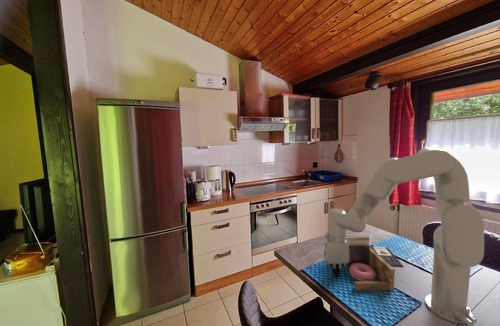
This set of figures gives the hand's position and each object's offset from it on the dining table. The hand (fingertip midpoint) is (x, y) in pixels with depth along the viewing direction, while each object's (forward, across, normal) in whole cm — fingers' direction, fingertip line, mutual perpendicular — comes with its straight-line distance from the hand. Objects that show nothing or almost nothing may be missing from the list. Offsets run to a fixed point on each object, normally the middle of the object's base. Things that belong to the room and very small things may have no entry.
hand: (335, 275), depth 97 cm
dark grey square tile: (+1, +14, +7) cm, 15 cm away
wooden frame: (+1, +13, +2) cm, 13 cm away
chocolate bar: (+2, +33, +16) cm, 37 cm away
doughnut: (+2, +12, +1) cm, 13 cm away
